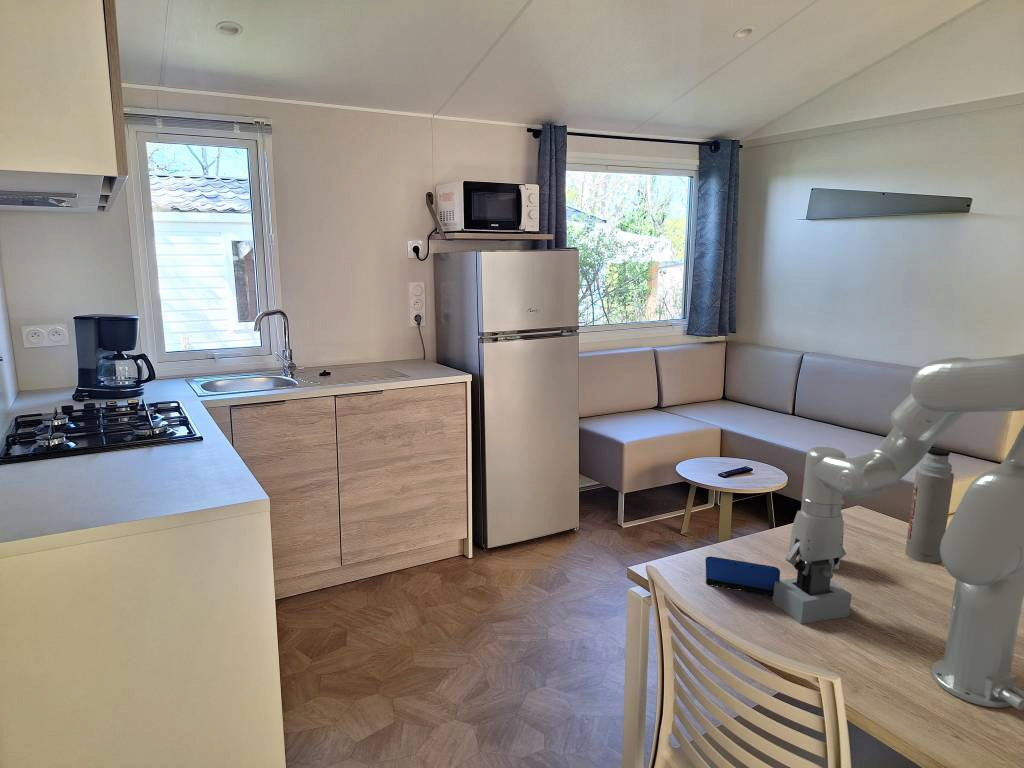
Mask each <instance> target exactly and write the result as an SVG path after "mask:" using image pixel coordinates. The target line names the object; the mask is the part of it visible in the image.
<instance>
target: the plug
mask: <svg viewBox="0 0 1024 768" xmlns="http://www.w3.org/2000/svg"><path fill="white" fill-rule="evenodd" d="M804 564H805V562H804V561H803V564H802V565H803V566H804ZM831 567H832V564H831V563H829V562H827V561H826V560H820V561H812V563H811V566H810V570H809V573H808V574H809V575H810V586H809V592H807V594H808V595H809V596H815V595H821V594H828V593H829V585H830V581H831V579H832V578H833V577H834V574H833V573H832V572H831ZM799 589H800V588H799Z"/></svg>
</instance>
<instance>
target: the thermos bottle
mask: <svg viewBox="0 0 1024 768" xmlns="http://www.w3.org/2000/svg"><path fill="white" fill-rule="evenodd" d="M950 454H951V452H950V450H947V449H943V448H938V447H931V448H930V450H929V451H928V452H927V453H926V454H925V456H924V459H923V458H922V459H921V461H920V462H919V467H917V468H916V469H915V475H914V482H913V483H914V484H913V490H912V491H913V492H912V498H911V506H910V514H909V521H908V528H907V534H906V535H907V536H906V545H905V550H904V553H905V555H906V556H908V558H911V559H913V560H915V561H918V562H922V563H926V562H928V563H929V564H930V563H931V564H936V563H937V562H938V563H940V561H941V562H942V560H941V557H940V544H941V541H942V538H943V536H944V533H945V531H946V529H947V527H948V526H947V525H948V520H949V512H950V505H951V498H952V491H953V485H954V477H955V475H954V473H953V472H952V471H953V469H952V468H953V466H952V464H951V462H949V457H950ZM928 563H927V564H928Z"/></svg>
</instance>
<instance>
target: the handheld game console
mask: <svg viewBox="0 0 1024 768" xmlns="http://www.w3.org/2000/svg"><path fill="white" fill-rule="evenodd" d="M704 562H705V584H706V585H707V586H710V585H713V586H712V587H716V586H718V587H717V588H722V587H724V588H723V589H727V588H729V589H728V590H732V589H741V590H740V591H743V592H745V591H746V593H750V594H754V595H759V594H760V595H761V596H764V597H766V596H767V597H769V598H770V597H771V598H773V595H774V585H775V581H780V578H781V570H780V568H778V567H776V566H771V565H766V564H760V563H753V562H747V561H742V560H741V561H740V560H735V559H731V558H724V557H723V558H721V557H718V556H707V557H705V561H704Z"/></svg>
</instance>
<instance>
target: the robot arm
mask: <svg viewBox="0 0 1024 768" xmlns="http://www.w3.org/2000/svg"><path fill="white" fill-rule="evenodd" d="M1018 411H1019V412H1021V411H1024V353H1021V354H1016V355H1007V356H995V357H985V358H975V359H974V358H973V359H972V358H968V357H962V356H961V357H960V356H958V357H957V356H956V357H950V358H949V357H948V358H945V359H944V358H943V359H939V360H937V359H936V360H933V361H930V362H928V363H925V364H924V365H922V366H921V367H920V368H919V369H918V370H917V371H916V372H915V373H914V375H913V377H912V379H911V382H910V394H909V395H908V396H907V397H905V399H903V401H902V402H901V403H900V404H899V405H898V406H897V407H896V408H894V410H892V411H891V414H890V422H891V424H892V429H891V430H890V431H889V433H888V434H887V436H886V437H885V438H884V439H883V440H882V441H881V442H880V443H879V444H878V445H877V446H876V447H875V448H874V449H872V451H870V452H869V453H867V454H863V455H860V456H856V457H850V458H849V457H848V458H847V456H846V454H845V453H844V451H842V450H840V449H837V448H834V447H829V446H815V447H812V448H810V449H808V451H807V452H806V456H805V465H804V474H803V486H802V496H801V507H800V510H797V511H796V514H795V517H794V520H793V524H792V528H791V534H790V539H789V547H788V548H789V549H788V550H789V552H788V553H787V555H786V557H785V560H786V562H788V563H789V564H790V565H792V566H793V568H794V569H795V570H796V571H797V573H796V574H797V576H796V578H797V584H796V585H797V587H798V588H800V589H801V590H802V591H804V592H805V593H807V592H809V586H810V575H809V574H808V573H809V570H810V566H811V563H812V561H820V560H826V561H827V562H829V563H831V564H832V567H831V573H832V572H834V571H835V570H836V569H835V565H836V564H837V563H838V562H839V559H840V560H841V559H843V558H844V557H845V556H846V555H847V552H846V550H845V549H844V527H843V520H844V519H843V514H842V507H843V506H844V505H845V500H844V499H843V498H844V497H843V496H845V497H848V498H852V499H862V498H867V497H868V496H871V495H874V494H876V493H879V492H881V491H884V490H887V489H889V488H891V487H892V486H894V485H895V484H897V483H898V482H899V481H901V479H903V478H904V477H905V476H906V475H907V474H908V473H909V472H910V471H911V470H913V469H914V467H916V466H917V465H919V464H920V462H921V460H923V458H925V456H926V453H927V452H928V451H929V450H930V448H932V446H933V444H934V443H936V441H938V440H939V439H940V438H941V437H942V436H943V435H944V434H945V433H946V432H947V431H948V430H950V429H951V427H952V426H954V425H955V424H956V423H957V422H958V421H959V420H960V419H961V418H962V417H963V416H965V415H966V414H967V413H982V412H983V413H984V412H986V413H987V412H1018ZM947 525H948V526H946V531H945V533H944V536H943V538H942V541H941V544H940V557H941V560H942V561H941V563H942V565H943V567H944V568H945V570H946V571H947V572H948V574H949V575H950V576H952V577H953V578H954V579H955V580H956V581H955V584H954V592H953V597H952V603H951V610H950V618H949V623H948V628H947V629H948V630H947V636H946V637H947V638H946V645H945V651H944V657H943V659H939V660H936V661H935V662H934V663H933V664H932V667H931V669H932V670H931V675H932V678H933V680H934V681H935V682H936V683H937V684H938V685H939V686H940V687H941V689H943V690H945V691H946V692H948V693H949V694H951V695H953V696H955V697H957V698H958V699H961V700H963V701H966V702H968V703H972V704H974V705H978V706H983V707H989V708H998V709H999V708H1000V709H1001V708H1007V707H1011V706H1012V707H1014V708H1015V709H1017V710H1018V711H1023V710H1024V690H1022V689H1021V688H1018V687H1017V685H1016V683H1017V682H1016V680H1017V675H1015V674H1014V673H1012V672H1011V671H1012V663H1013V659H1014V651H1015V647H1016V640H1017V636H1018V635H1017V634H1018V628H1019V624H1020V619H1021V613H1022V607H1023V602H1024V424H1023V425H1022V426H1021V429H1020V430H1019V432H1018V434H1017V436H1016V438H1015V440H1014V442H1013V444H1012V446H1011V448H1010V449H1009V451H1008V453H1007V455H1006V456H1005V457H1004V460H1003V461H1002V462H1001V463H1000V464H999V465H998V466H995V467H993V468H991V469H989V470H986V471H985V472H983V473H981V474H980V475H979V476H977V477H976V478H975V479H974V480H973V481H972V482H971V483H970V485H969V486H968V487H967V489H966V490H965V492H964V493H963V496H962V498H961V499H960V502H959V503H958V505H957V508H956V510H955V512H954V513H953V516H952V518H951V519H950V522H949V523H948V524H947ZM803 561H804V562H805V564H804V566H803V565H802V564H803ZM829 588H830V585H829Z"/></svg>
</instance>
